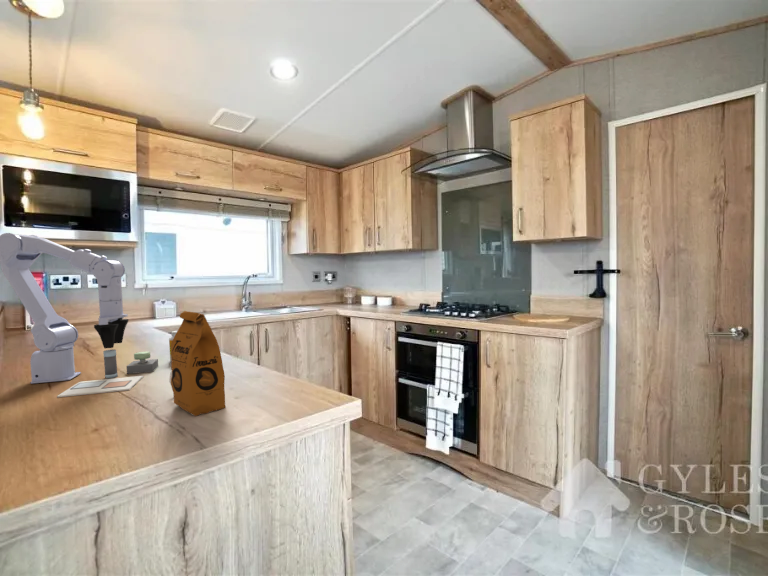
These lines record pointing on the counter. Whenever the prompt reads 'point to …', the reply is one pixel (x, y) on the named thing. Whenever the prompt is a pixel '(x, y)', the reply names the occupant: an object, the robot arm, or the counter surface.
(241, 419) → the counter surface
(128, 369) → the button housing
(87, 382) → the white sorting board
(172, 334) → the supplement bottle
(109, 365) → the grey cylinder
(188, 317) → the coffee package
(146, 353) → the button
